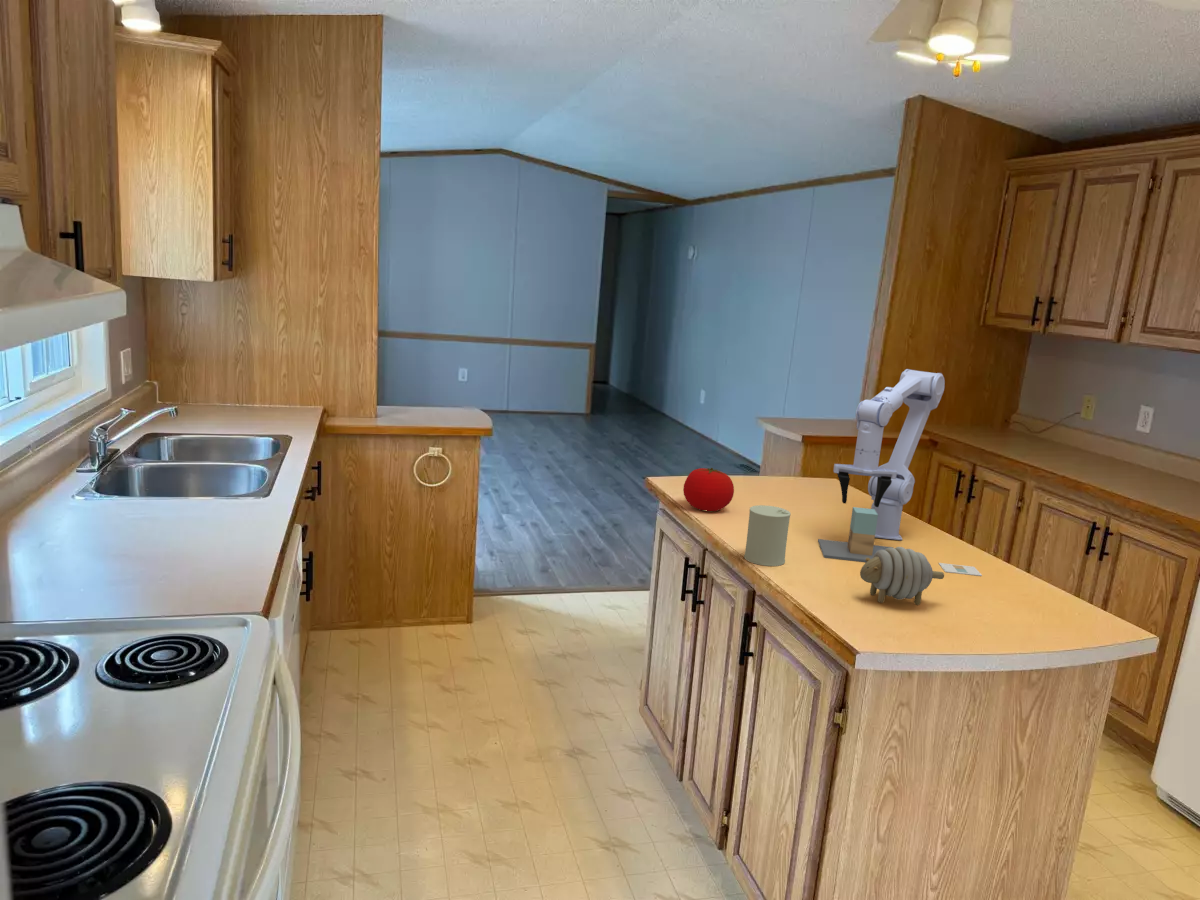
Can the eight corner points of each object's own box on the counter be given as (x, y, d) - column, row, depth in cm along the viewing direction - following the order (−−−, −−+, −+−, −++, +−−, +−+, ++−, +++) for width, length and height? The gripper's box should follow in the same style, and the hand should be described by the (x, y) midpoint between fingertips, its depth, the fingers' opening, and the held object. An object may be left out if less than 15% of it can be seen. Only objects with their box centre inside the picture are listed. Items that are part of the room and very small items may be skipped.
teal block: (850, 527, 200) (852, 507, 200) (871, 529, 200) (874, 509, 199) (853, 532, 196) (856, 512, 195) (875, 535, 195) (878, 514, 194)
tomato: (673, 504, 232) (677, 463, 229) (714, 501, 238) (718, 462, 235) (697, 517, 220) (701, 474, 218) (740, 514, 226) (744, 472, 224)
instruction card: (938, 563, 196) (938, 562, 196) (974, 567, 195) (974, 566, 195) (945, 571, 190) (945, 570, 190) (981, 576, 189) (981, 575, 189)
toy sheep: (847, 589, 174) (854, 538, 172) (924, 591, 176) (932, 541, 174) (868, 608, 164) (876, 555, 161) (949, 611, 165) (958, 558, 163)
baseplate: (817, 541, 206) (818, 538, 206) (892, 549, 204) (893, 547, 204) (823, 557, 194) (824, 555, 194) (903, 566, 191) (904, 564, 191)
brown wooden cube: (847, 546, 201) (850, 527, 200) (868, 549, 201) (871, 529, 200) (850, 553, 197) (853, 532, 196) (872, 555, 196) (875, 535, 195)
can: (785, 568, 184) (791, 516, 182) (743, 563, 186) (749, 511, 183) (784, 556, 193) (790, 506, 191) (744, 550, 195) (750, 501, 192)
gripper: (839, 449, 198) (831, 504, 201) (902, 456, 196) (893, 511, 199) (835, 444, 205) (828, 498, 207) (896, 450, 203) (888, 504, 206)
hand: (860, 504), depth 204 cm, fingers open, 7 cm apart
